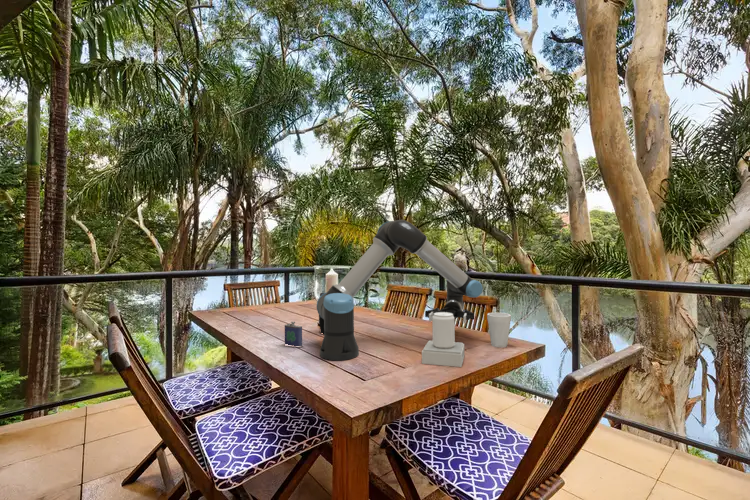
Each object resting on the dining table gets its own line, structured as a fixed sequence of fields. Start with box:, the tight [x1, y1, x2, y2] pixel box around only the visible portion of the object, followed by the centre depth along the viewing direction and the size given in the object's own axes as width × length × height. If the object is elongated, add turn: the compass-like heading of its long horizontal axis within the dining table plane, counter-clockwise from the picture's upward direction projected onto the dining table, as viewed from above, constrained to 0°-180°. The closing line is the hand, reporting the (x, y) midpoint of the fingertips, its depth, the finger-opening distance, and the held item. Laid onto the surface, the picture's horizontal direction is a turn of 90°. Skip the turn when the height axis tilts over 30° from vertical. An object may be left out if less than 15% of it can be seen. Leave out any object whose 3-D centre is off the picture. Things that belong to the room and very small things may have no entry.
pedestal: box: [421, 340, 465, 368], centre depth 138 cm, size 14×14×5 cm
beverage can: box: [431, 312, 456, 348], centre depth 138 cm, size 8×8×12 cm
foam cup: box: [486, 312, 512, 348], centre depth 156 cm, size 10×9×13 cm
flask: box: [284, 321, 303, 347], centre depth 158 cm, size 9×3×11 cm, turn 61°
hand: (446, 318), depth 147 cm, fingers open, 13 cm apart
